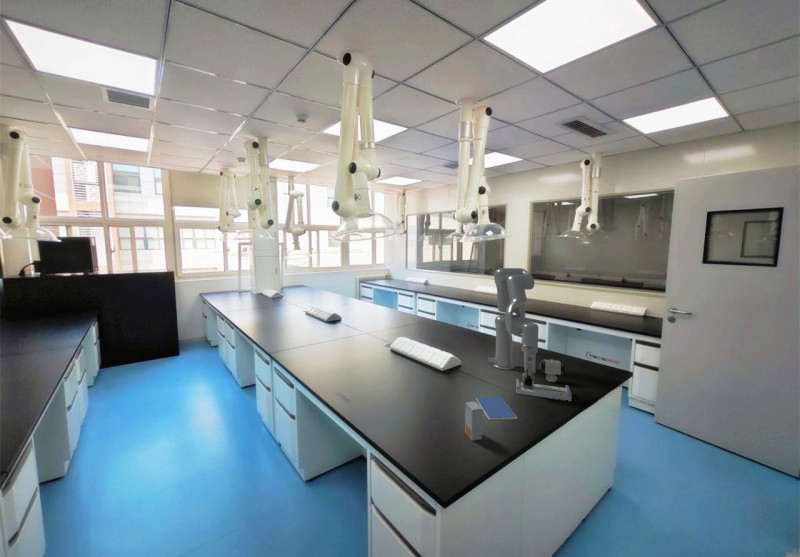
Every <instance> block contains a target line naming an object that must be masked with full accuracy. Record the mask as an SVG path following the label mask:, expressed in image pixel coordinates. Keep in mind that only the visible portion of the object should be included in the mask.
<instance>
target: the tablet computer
mask: <svg viewBox="0 0 800 557" xmlns="http://www.w3.org/2000/svg"><path fill="white" fill-rule="evenodd" d="M475 400H476V401H477V402H476V403H477V404H478V405H479V406H480V407H481V408H482V412H483V413H484V415H485V416H486V417H487V419H488V420H489V421H505V420H508V421H509V420H510V421H511V420H512V421H513V420H518V419H519V418H518V416H517V415H516V413H515V411H513V410H512V408H510V406H509V405H508V404H507V403H506V401H505V400H504V398H503V397H501V396H483V397H481V396H480V397H476V398H475Z"/></svg>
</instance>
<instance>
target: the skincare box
mask: <svg viewBox="0 0 800 557" xmlns="http://www.w3.org/2000/svg"><path fill="white" fill-rule="evenodd" d="M464 415H465V418H464V419H465V420H464V421H465V422H464V431H465V434H466V435H467V436H468V437H469V439H470V440H471V441H478V440H482V438H483V410H482V408H481V406H480V405H479V403H478V402H476V401H468V402H465V414H464Z"/></svg>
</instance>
